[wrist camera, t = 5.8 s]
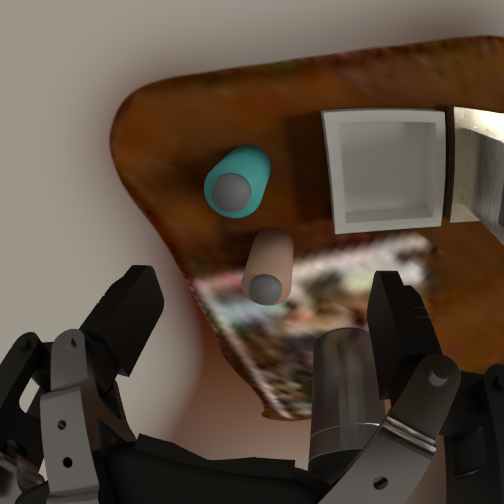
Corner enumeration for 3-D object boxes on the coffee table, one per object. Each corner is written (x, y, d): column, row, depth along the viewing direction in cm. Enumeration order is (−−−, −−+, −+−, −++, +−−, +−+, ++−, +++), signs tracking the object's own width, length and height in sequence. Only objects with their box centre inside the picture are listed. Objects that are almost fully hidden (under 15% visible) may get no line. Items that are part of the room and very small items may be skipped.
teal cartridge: (274, 184, 27) (266, 219, 20) (231, 190, 28) (209, 225, 21) (266, 141, 25) (254, 160, 18) (221, 148, 26) (194, 170, 19)
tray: (429, 213, 25) (440, 225, 23) (332, 219, 28) (335, 233, 25) (430, 109, 20) (444, 112, 17) (320, 110, 22) (323, 112, 20)
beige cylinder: (295, 261, 31) (293, 310, 25) (257, 264, 32) (245, 312, 26) (291, 226, 29) (287, 270, 22) (249, 230, 30) (234, 273, 23)
